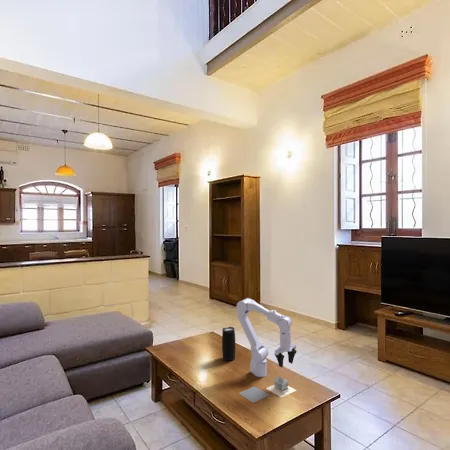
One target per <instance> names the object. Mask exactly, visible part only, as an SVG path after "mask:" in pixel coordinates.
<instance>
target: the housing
mask: <svg viewBox="0 0 450 450" xmlns="http://www.w3.org/2000/svg"><path fill="white" fill-rule="evenodd" d="M272 380H273V385H274V389H276V390H278V391H279V392H281V393H285V392H287V391H289V389H288V386H289V383H290V381H289V380H288V379H286V378H284V377H282V376H281V375H279V376H278V375H277V377H276V376H275V377H274V378H273V379H272Z"/></svg>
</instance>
